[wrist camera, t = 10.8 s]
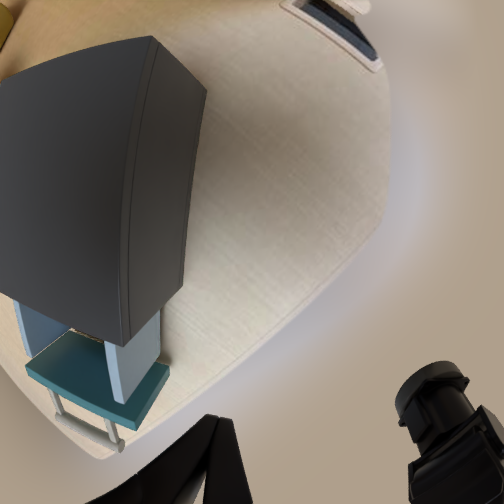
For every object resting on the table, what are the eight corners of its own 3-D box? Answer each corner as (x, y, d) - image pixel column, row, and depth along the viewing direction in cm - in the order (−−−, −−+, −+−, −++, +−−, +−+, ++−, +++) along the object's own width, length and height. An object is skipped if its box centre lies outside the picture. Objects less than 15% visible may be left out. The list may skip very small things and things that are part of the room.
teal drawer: (171, 410, 24) (143, 465, 16) (79, 374, 25) (41, 413, 17) (175, 222, 19) (116, 246, 12) (60, 205, 20) (-5, 219, 13)
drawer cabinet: (182, 286, 21) (123, 348, 12) (63, 256, 22) (-8, 288, 13) (207, 90, 17) (152, 34, 9) (75, 98, 18) (1, 80, 10)
